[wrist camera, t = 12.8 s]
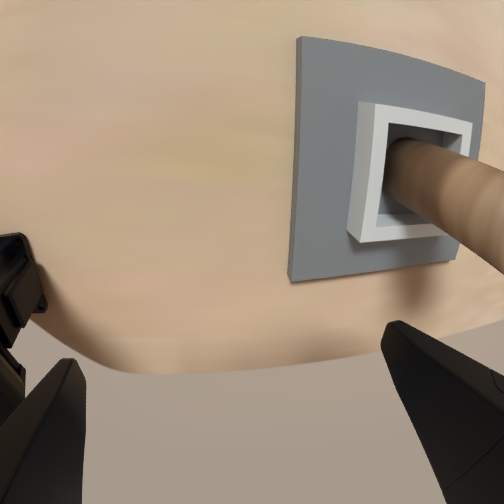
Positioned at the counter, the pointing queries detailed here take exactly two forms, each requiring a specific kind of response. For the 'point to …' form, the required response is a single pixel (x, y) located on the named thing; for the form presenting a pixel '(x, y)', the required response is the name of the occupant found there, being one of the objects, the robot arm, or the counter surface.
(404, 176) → the mill
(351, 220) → the grey square frame plate
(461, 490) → the robot arm
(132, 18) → the counter surface
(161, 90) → the counter surface
